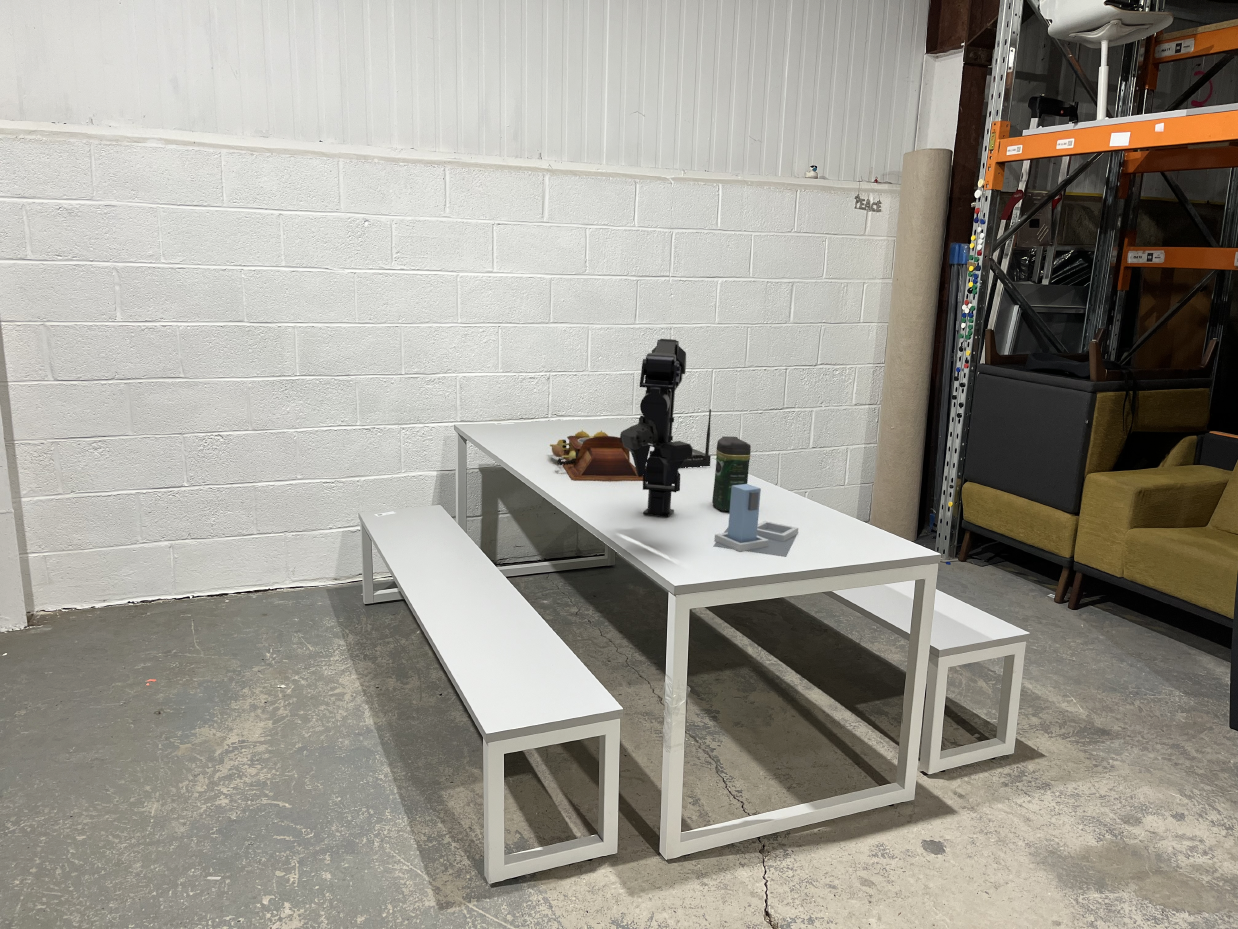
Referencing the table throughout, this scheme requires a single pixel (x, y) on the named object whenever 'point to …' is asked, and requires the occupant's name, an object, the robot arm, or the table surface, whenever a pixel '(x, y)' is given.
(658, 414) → the robot arm
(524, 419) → the table surface
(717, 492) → the coffee jar
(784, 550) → the panel
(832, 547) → the table surface
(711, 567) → the table surface
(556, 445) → the brown wooden toy
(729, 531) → the plug
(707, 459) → the dark piece
